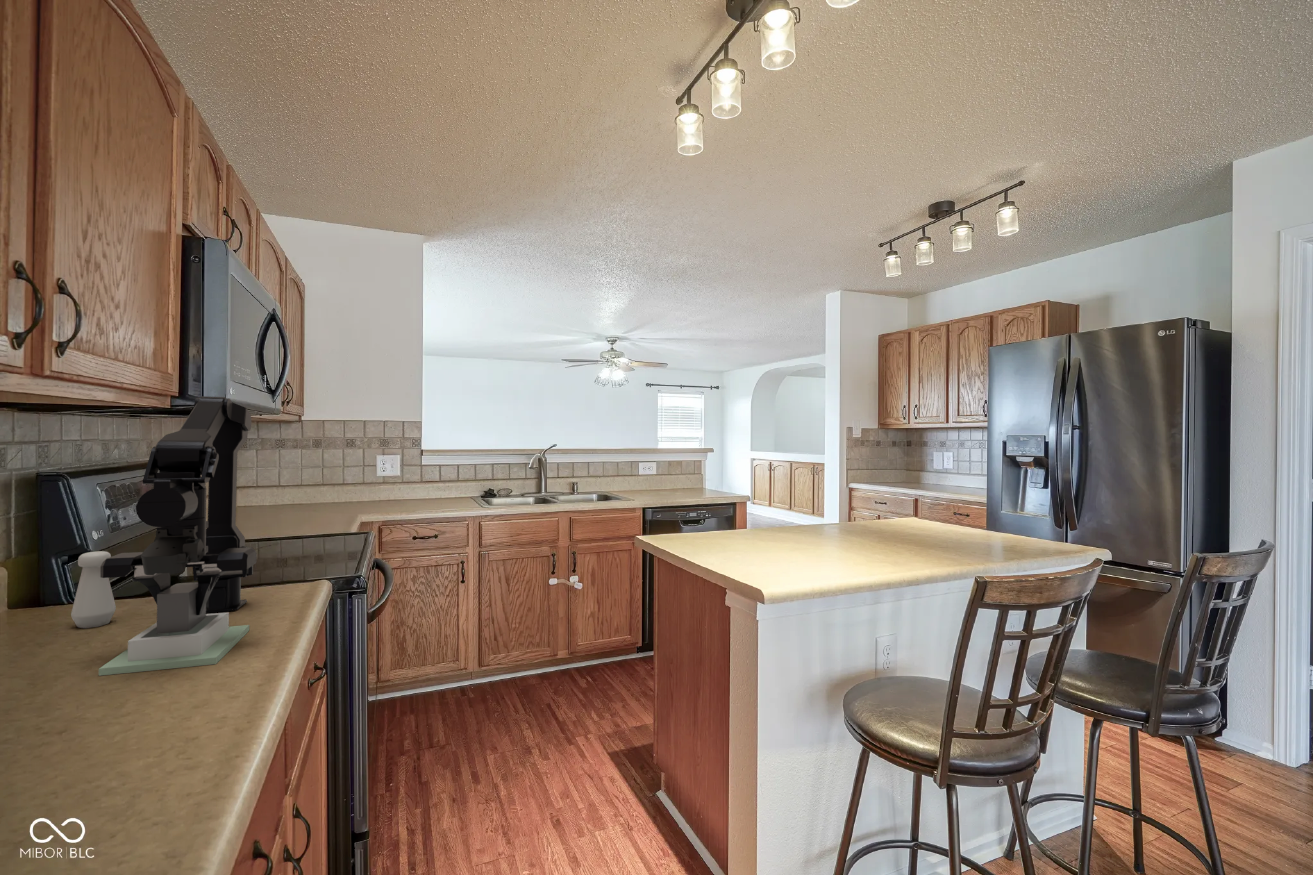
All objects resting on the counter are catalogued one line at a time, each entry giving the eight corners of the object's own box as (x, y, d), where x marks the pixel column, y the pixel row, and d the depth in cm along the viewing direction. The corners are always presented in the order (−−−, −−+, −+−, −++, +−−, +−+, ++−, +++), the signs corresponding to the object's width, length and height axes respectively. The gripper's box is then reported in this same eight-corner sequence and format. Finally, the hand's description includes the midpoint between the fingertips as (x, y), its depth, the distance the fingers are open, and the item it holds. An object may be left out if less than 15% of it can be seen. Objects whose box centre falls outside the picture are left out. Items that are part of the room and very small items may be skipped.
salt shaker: (65, 626, 104) (66, 553, 104) (107, 617, 109) (108, 548, 109) (79, 631, 102) (80, 556, 102) (121, 622, 107) (122, 551, 107)
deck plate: (151, 638, 99) (151, 615, 99) (249, 630, 103) (249, 607, 103) (98, 675, 84) (98, 647, 84) (216, 663, 88) (216, 637, 88)
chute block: (176, 619, 96) (176, 583, 96) (205, 617, 97) (206, 581, 97) (156, 633, 90) (157, 594, 89) (188, 631, 91) (188, 592, 91)
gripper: (79, 528, 83) (78, 638, 83) (236, 523, 89) (234, 625, 89) (120, 517, 93) (119, 615, 93) (258, 513, 100) (256, 605, 100)
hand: (182, 615), depth 94 cm, fingers closed on chute block, 4 cm apart
